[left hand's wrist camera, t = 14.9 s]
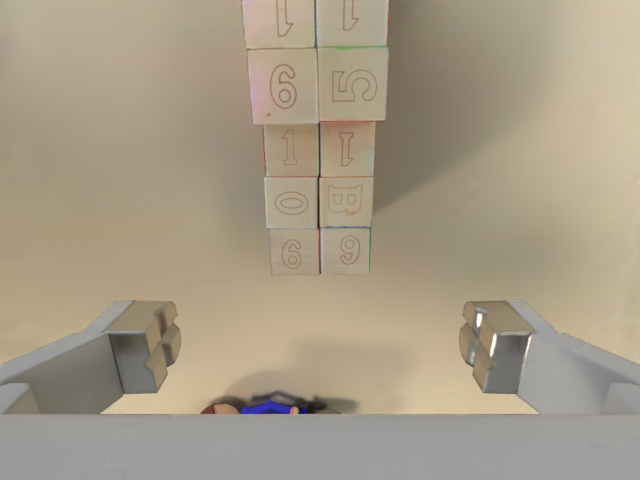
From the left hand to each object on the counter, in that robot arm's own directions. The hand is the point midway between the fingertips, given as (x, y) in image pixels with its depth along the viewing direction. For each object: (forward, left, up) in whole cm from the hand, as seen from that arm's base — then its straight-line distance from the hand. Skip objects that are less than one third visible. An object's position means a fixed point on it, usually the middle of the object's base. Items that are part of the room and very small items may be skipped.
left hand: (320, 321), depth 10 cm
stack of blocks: (+6, +2, -20) cm, 21 cm away
